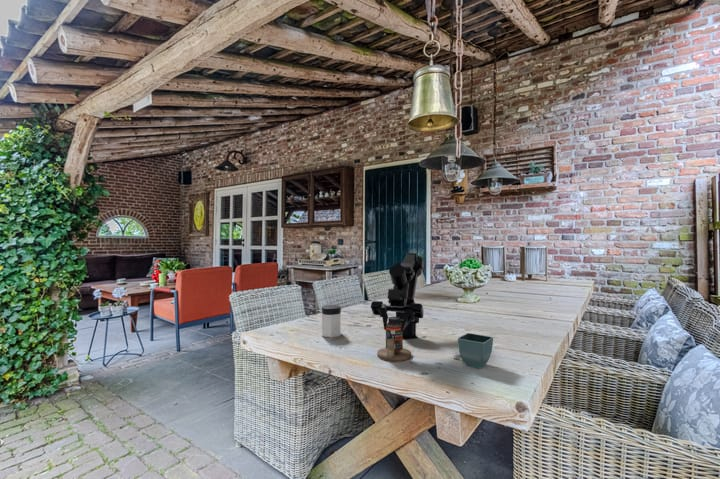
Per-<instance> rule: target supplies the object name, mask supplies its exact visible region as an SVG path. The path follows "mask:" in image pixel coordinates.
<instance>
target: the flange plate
mask: <svg viewBox="0 0 720 479" xmlns="http://www.w3.org/2000/svg"><path fill="white" fill-rule="evenodd" d="M376 355H377V358H378V359H381V361H385V362H386V361H387V362H394V363H395V362H396V363H397V362H406V361H409V360H410V359H411V358H412V352H411V350H409V349H406V348H405V347H403V349H402V350H401V351H398V352H394V339H387V349H386V347H383V348H380V349H378V350H377V351H376Z"/></svg>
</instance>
